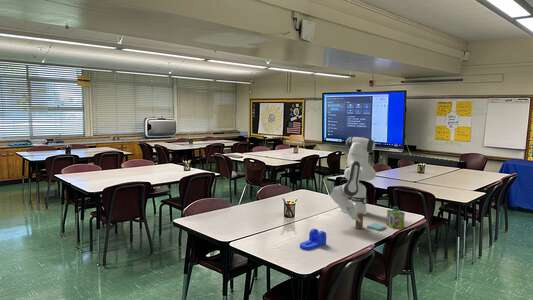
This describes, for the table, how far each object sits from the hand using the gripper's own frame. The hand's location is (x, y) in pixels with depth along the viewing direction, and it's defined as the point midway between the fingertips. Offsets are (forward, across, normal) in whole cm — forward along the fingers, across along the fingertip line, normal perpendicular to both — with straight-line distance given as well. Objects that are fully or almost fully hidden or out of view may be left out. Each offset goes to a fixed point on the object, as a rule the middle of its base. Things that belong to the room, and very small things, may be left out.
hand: (360, 220), depth 256 cm
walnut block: (+4, 0, +5) cm, 6 cm away
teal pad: (+13, +4, -4) cm, 14 cm away
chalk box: (+23, +12, -14) cm, 29 cm away
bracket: (-17, -45, +26) cm, 54 cm away
